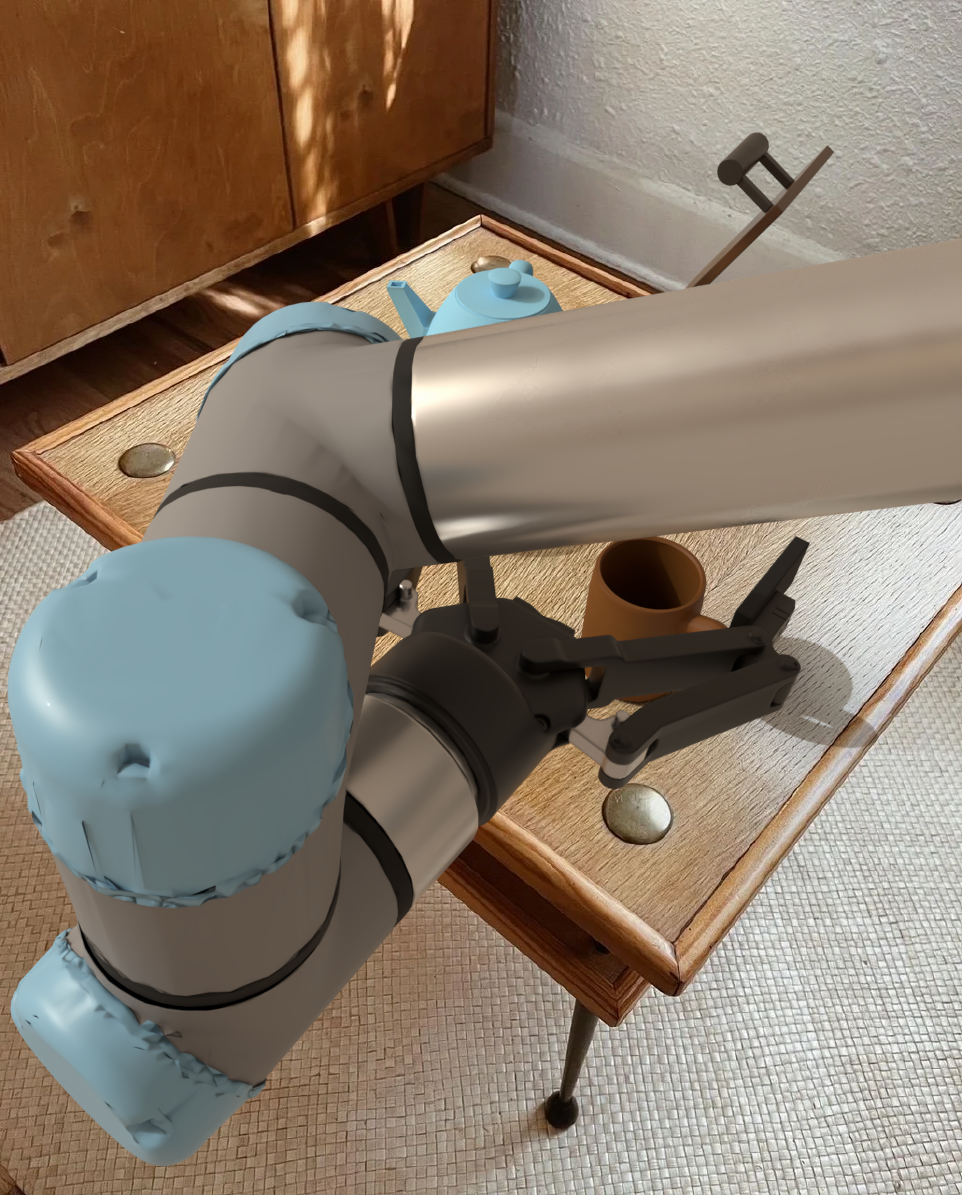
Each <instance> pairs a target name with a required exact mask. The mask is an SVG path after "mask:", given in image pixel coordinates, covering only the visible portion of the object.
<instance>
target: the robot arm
mask: <svg viewBox="0 0 962 1195" xmlns="http://www.w3.org/2000/svg"><path fill="white" fill-rule="evenodd" d="M685 288H686V287H685ZM685 288H680V289H676V290H670V291H665V292H660V293H659V292H658V293H654V294H648V295H642V296H637V297H632V298H626V299H621V300H616V301H609V302H604V303H599V304H594V305H588V306H583V307H577V308H572V309H567V310H563V311H560V312H555V313H549V314H544V315H538V316H533V317H527V318H522V319H516V320H511V321H505V322H500V323H494V324H489V325H484V326H478V327H473V328H467V329H462V330H456V331H451V332H445V333H440V334H434V335H429V336H422V337H416V338H410V337H409V338H404V339H403V337H401V336H400V335H399V333H398V332H397V331H395V330H394V329H393V328H392V327H391V326H389V325H388V324H387V323H385V321H382V320H381V319H379V318H378V317H376V316H374V315H372V314H370V313H368V312H365V311H362V310H357V311H356V310H353V309H350V308H347V307H344V306H339V305H334V304H332V303H330V302H328V301H307V302H306V301H305V302H299V303H294V304H290V305H287V306H284V307H281V308H278V309H275V310H273V311H272V312H271V313H269V314H267V315H265V316H263V317H262V318H260V319H259V320H258V321H256V322H255V323H254V324H253V325H252V326H251V327H249V329H248V330H247V331H246V332H245V334H244V335H243V336H242V337H241V338H240V340H239V341H238V343H237V345H236V346H235V348H234V350H233V352H232V353H231V355H230V356H229V358H228V360H227V362H225V363H224V364H223V365H222V367H220V368H219V369H218V371H217V373H216V374H215V375H214V377H213V378H212V380H211V382H210V383H209V385H208V388H207V389H206V391H205V393H204V395H203V399H202V401H201V404H200V407H199V409H198V412H197V414H196V418H195V419H196V420H195V423H194V424H195V425H194V426H193V429H192V431H191V434H190V436H189V438H188V440H187V443H186V445H185V447H184V449H183V452H182V454H181V455H180V459H179V460H178V463H177V465H176V466H175V470H174V472H173V474H172V476H171V479H170V481H169V483H168V486H167V488H166V490H165V492H164V495H163V497H162V499H161V502H160V504H159V506H158V508H157V510H156V511H155V514H154V515H153V518H152V520H151V522H149V524H148V526H147V528H146V530H145V532H144V534H143V536H142V538H141V540H140V541H139V542H137V543H133V544H129V545H125V546H121V547H120V548H116V549H115V550H112V551H110V552H107V553H105V554H103V555H100V556H98V557H97V558H95V559H94V560H93V561H92V562H91V563H90V565H89V567H88V568H87V569H86V570H85V571H84V573H83V574H81V575H80V576H78V577H77V578H75V579H74V580H72V581H71V582H69V583H68V584H66V585H65V586H64V587H58V588H53V589H51V591H49V593H48V594H47V595H46V596H45V597H43V599H42V600H41V601H40V602H39V603H38V604H37V605H36V607H35V608H34V609H33V611H32V612H31V614H30V615H29V617H28V618H27V620H26V622H25V623H24V625H23V627H22V629H21V631H20V633H19V635H18V638H17V640H16V643H15V645H14V648H13V651H12V655H11V658H10V661H9V662H10V663H9V667H8V673H7V707H8V713H9V716H10V721H11V725H12V728H13V734H14V737H15V741H16V749H17V752H18V754H19V757H20V762H21V770H20V772H19V775H18V777H19V780H20V782H21V785H22V788H23V789H24V792H25V794H26V795H27V796H26V797H27V811H28V812H29V813H30V814H31V818H32V823H33V824H34V826H35V827H36V828H37V830H38V833H39V835H40V837H41V838H42V840H43V842H44V843H45V844H46V845H47V846H48V849H49V851H50V853H51V856H52V858H53V861H54V863H55V866H56V868H57V870H58V873H59V876H60V878H61V881H62V883H63V885H64V888H65V890H66V893H67V896H68V897H69V900H70V902H71V905H72V908H73V910H74V913H75V917H76V918H75V919H76V925H75V926H73V927H68V929H64V930H62V932H61V933H59V934H58V935H57V936H56V937H55V938H54V942H53V943H52V946H51V947H50V948H49V949H48V950H47V951H46V953H45V954H44V955H43V956H41V958H40V959H39V960H38V961H37V962H36V963H35V964H34V966H33V967H31V969H30V970H29V971H28V972H27V973H26V974H25V975H24V977H23V978H22V979H20V981H19V982H18V985H17V987H16V990H15V991H14V992H13V995H12V998H11V1001H10V1014H11V1019H12V1021H13V1023H14V1025H15V1026H16V1029H17V1031H18V1033H19V1034H20V1036H21V1038H22V1039H23V1041H24V1043H26V1045H27V1046H28V1048H29V1049H30V1050H31V1051H32V1052H33V1054H34V1055H35V1057H36V1058H37V1059H38V1061H40V1063H41V1064H42V1065H43V1066H44V1068H46V1070H47V1071H48V1073H49V1074H50V1075H51V1076H52V1077H53V1078H54V1079H55V1080H56V1082H57V1083H58V1084H59V1085H60V1086H61V1087H62V1088H63V1089H64V1091H66V1093H67V1094H68V1095H69V1096H70V1097H71V1098H72V1099H73V1101H75V1102H76V1103H77V1104H78V1105H79V1106H80V1107H81V1109H82V1110H83V1111H84V1112H85V1113H86V1114H87V1115H88V1116H89V1117H90V1118H91V1119H92V1120H93V1121H94V1122H95V1123H96V1124H97V1125H98V1126H100V1128H102V1129H103V1130H104V1131H105V1132H106V1133H107V1134H108V1135H109V1136H110V1137H111V1138H112V1139H114V1140H115V1141H116V1142H117V1143H118V1144H119V1145H120V1146H121V1147H122V1148H124V1149H125V1150H127V1151H128V1152H129V1153H130V1154H132V1155H133V1156H134V1157H135V1158H137V1159H139V1160H141V1161H143V1162H144V1163H146V1164H149V1165H153V1166H158V1167H169V1166H173V1165H178V1164H179V1163H181V1162H184V1161H186V1160H188V1159H190V1157H192V1156H193V1155H194V1154H195V1153H196V1152H198V1151H199V1149H201V1147H202V1146H203V1145H204V1144H205V1143H206V1142H207V1141H208V1140H210V1138H211V1137H212V1136H213V1135H214V1134H215V1133H216V1132H217V1131H218V1130H219V1129H220V1128H221V1127H222V1126H223V1125H224V1124H225V1123H226V1122H227V1121H228V1120H229V1119H230V1118H231V1117H232V1116H233V1115H234V1114H235V1113H236V1111H238V1110H239V1109H240V1108H241V1107H242V1106H243V1105H244V1104H245V1103H246V1102H247V1101H248V1100H249V1099H254V1098H256V1097H257V1096H258V1095H260V1093H261V1092H262V1091H263V1090H264V1088H265V1087H266V1086H267V1084H266V1083H267V1079H268V1078H267V1077H269V1075H270V1074H271V1072H272V1071H273V1070H274V1069H275V1068H276V1067H277V1065H278V1064H280V1062H281V1061H282V1060H283V1059H284V1057H286V1055H287V1054H288V1053H289V1052H290V1050H291V1049H293V1047H294V1046H295V1044H297V1042H298V1041H299V1040H300V1039H301V1038H302V1037H303V1035H304V1034H305V1033H306V1032H307V1031H308V1030H309V1029H310V1027H311V1026H312V1025H313V1024H314V1022H315V1021H316V1020H317V1019H318V1018H319V1017H320V1015H321V1014H323V1012H324V1011H325V1010H326V1009H327V1007H329V1005H330V1004H331V1003H332V1002H333V1001H334V999H335V998H336V997H337V996H338V995H339V993H341V991H342V990H343V989H344V988H345V986H347V984H348V983H349V982H350V981H351V979H353V977H354V976H355V975H356V974H357V972H359V970H360V969H361V968H362V967H363V965H364V964H365V963H366V962H368V960H369V958H370V957H371V956H372V955H373V954H374V953H375V952H376V951H377V949H379V947H380V946H381V945H382V944H383V942H384V941H385V940H386V939H387V937H389V935H390V934H391V933H392V932H393V931H394V929H395V928H396V927H397V925H398V924H399V923H400V922H401V921H402V920H403V919H404V918H405V917H406V915H407V914H408V913H409V911H411V910H412V908H414V906H415V905H416V904H417V903H418V901H419V900H420V899H422V897H423V896H424V895H425V894H426V893H427V892H428V890H430V888H431V887H432V886H433V885H434V884H435V883H436V881H437V880H438V879H439V878H440V877H441V875H443V874H444V872H445V871H447V869H448V868H449V867H450V865H451V864H453V862H454V861H455V860H456V859H457V858H458V857H459V856H460V854H461V853H462V852H463V851H464V850H465V849H466V848H467V846H468V845H469V844H470V843H471V842H472V841H473V840H474V839H475V837H476V834H477V831H478V828H479V827H481V826H484V825H486V824H487V823H489V822H490V820H492V819H493V817H494V816H495V815H496V814H497V813H498V812H499V810H500V809H502V807H503V806H504V805H505V804H506V803H507V801H508V800H510V798H511V797H512V795H514V793H515V792H516V791H517V790H518V789H519V788H520V786H521V785H523V783H524V782H525V781H526V780H527V778H528V777H529V776H530V775H531V774H532V773H533V771H535V769H536V768H537V767H538V766H539V765H540V764H541V762H542V761H543V760H544V758H545V757H547V755H548V754H549V753H551V752H552V751H554V750H556V749H558V748H561V747H564V746H567V745H570V744H572V746H574V747H575V748H577V749H578V750H579V751H580V752H582V753H583V754H584V755H585V756H587V757H588V758H590V759H591V760H592V761H593V762H595V763H596V764H597V765H599V769H598V772H597V778H598V780H599V783H600V784H601V785H602V786H604V787H605V788H607V789H610V790H613V791H615V790H621V789H622V788H624V787H625V786H626V785H627V784H628V783H629V782H631V780H632V779H633V778H634V777H635V776H636V775H638V773H639V772H641V771H642V769H644V768H645V767H646V766H647V765H648V764H649V763H650V762H653V761H655V760H659V759H661V758H662V757H663V758H664V757H665V756H668V755H671V754H673V753H675V752H679V751H680V750H684V749H686V748H689V747H690V746H693V745H696V744H698V743H700V742H703V741H705V740H707V739H710V738H713V737H715V736H716V737H717V736H718V735H720V734H723V733H725V732H728V731H730V730H733V729H735V728H738V727H741V726H742V725H746V724H748V723H751V722H753V721H755V720H758V719H760V718H763V717H765V716H769V715H770V714H772V713H775V712H778V711H780V710H781V709H782V708H783V707H784V705H785V703H786V700H787V699H788V697H789V695H790V692H791V691H792V689H793V686H794V685H795V682H796V681H797V678H798V676H799V674H800V672H801V670H802V667H801V664H800V662H799V660H798V659H797V658H795V657H794V656H792V655H790V654H785V653H781V654H779V653H778V651H777V650H776V649H775V648H774V646H775V644H776V643H777V642H778V640H779V639H780V638H781V636H782V635H783V634H784V632H785V631H786V629H787V628H788V625H789V622H790V621H791V619H792V616H793V614H794V612H795V609H796V599H795V598H792V597H790V596H788V595H786V592H787V591H788V590H789V588H790V587H791V586H792V584H793V583H794V580H795V578H796V576H797V573H798V572H799V569H800V566H801V565H802V563H803V560H804V558H805V556H806V554H807V551H808V549H809V546H810V543H811V542H810V541H807V540H805V539H803V538H802V537H799V536H797V535H794V537H793V539H792V540H790V542H789V544H788V545H787V546H786V547H785V548H784V550H783V551H782V552H781V553H780V554H779V556H778V557H777V558H776V559H775V561H773V563H772V564H771V566H770V567H769V568H768V569H767V571H766V572H765V573H764V575H763V576H762V577H761V578H760V579H759V581H758V582H757V583H756V584H755V586H754V587H753V588H752V589H751V590H750V592H749V593H748V594H747V596H746V597H745V598H744V599H743V600H742V601H741V603H740V604H739V606H738V607H737V608H736V609H735V611H734V614H733V616H732V618H731V622H730V624H729V626H728V628H724V629H715V630H707V631H699V632H690V633H682V634H674V635H665V636H657V637H649V638H640V639H632V640H624V641H618V640H616V639H615V638H614V636H612V635H601V636H593V637H584V638H581V637H576V635H575V634H576V629H574V628H572V627H571V626H569V625H567V624H566V623H564V622H562V621H560V620H557V619H554V618H551V617H548V616H545V615H543V613H541V612H540V611H539V610H538V609H537V608H536V607H534V605H532V604H531V603H530V602H528V601H526V600H524V599H522V598H521V597H519V596H517V595H516V596H515V597H514V598H513V599H511V598H507V597H497V591H496V583H495V575H494V573H495V572H494V566H492V565H491V557H496V556H506V555H514V554H521V553H530V552H537V551H539V552H540V551H545V550H553V549H563V548H571V547H579V546H586V545H595V544H604V543H612V542H614V541H621V540H630V539H638V538H646V537H654V536H657V537H661V536H671V535H679V534H687V533H697V532H703V531H712V530H720V529H729V528H737V527H744V526H751V525H761V524H762V525H763V524H770V523H777V522H787V521H795V520H802V519H811V518H818V517H826V516H836V515H843V514H850V513H851V514H853V513H859V512H860V513H861V512H868V511H869V512H870V511H877V510H883V509H884V510H885V509H886V510H887V509H894V508H901V507H911V506H918V505H926V504H934V503H942V502H951V501H960V500H962V237H960V238H955V239H949V240H943V241H938V242H933V243H927V244H922V245H915V246H911V247H906V248H899V249H895V250H889V251H883V252H878V253H873V254H866V255H862V256H857V257H851V258H845V259H839V260H834V261H829V262H824V263H818V264H813V265H807V266H802V267H795V268H791V269H785V270H779V271H773V272H769V273H763V274H758V275H752V276H747V277H741V278H736V279H729V280H724V281H719V282H714V283H713V282H712V283H710V284H708V285H702V286H697V287H691V288H686V289H685ZM452 563H453V564H454V563H456V573H457V586H458V599H459V600H458V601H459V603H455V604H449V605H443V606H437V607H432V608H428V609H426V610H424V611H422V612H421V611H420V610H419V598H420V597H419V593H418V590H417V588H418V585H419V581H420V578H421V575H422V572H423V568H424V567H430V566H438V565H439V566H440V565H446V564H452ZM389 632H390V633H391V634H394V635H396V636H398V637H399V638H402V639H400V640H399V641H398V642H397V643H396V644H395V645H393V646H392V647H391V648H390V649H389V650H388V651H386V653H384V654H383V655H382V656H381V657H379V659H378V660H376V661H375V662H374V663H373V664H372V661H373V658H374V652H375V648H376V642H377V638H381V637H384V636H385V635H387V634H388V633H389ZM588 667H592V668H591V672H590V676H589V677H588V678H587V677H586V675H585V668H588ZM663 692H668V693H670V692H675V693H672V694H669V695H666V696H664V697H661V698H657V699H655V700H653V701H651V702H649V703H647V704H644V705H643V706H642V707H640V708H638V709H637V710H635V711H634V712H632V713H631V714H630V713H629V712H628V711H627V710H624V709H621V710H617V711H616V712H615V714H612V715H611V716H609V717H606V718H601V719H599V718H595V717H592V716H590V715H589V714H588V713H589V712H588V711H589V710H594V709H595V710H596V709H601V708H605V707H607V706H609V705H611V704H612V703H613V702H614V701H615V700H620V699H619V698H626V697H633V696H641V695H648V694H656V693H663Z"/></svg>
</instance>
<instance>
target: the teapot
mask: <svg viewBox="0 0 962 1195" xmlns="http://www.w3.org/2000/svg"><path fill="white" fill-rule="evenodd" d="M386 292H387V294H388V295H389V297H390V299H391V301H392V304H393V306H394V308H395V310H396V312H397V314H398V317H399V318H400V320H401V323H402V324H403V327H404V329H405V331H406V333H407V334H408V337H409V339H410V338H416V337H422V336H429V335H434V334H440V333H445V332H451V331H456V330H462V329H467V328H473V327H478V326H484V325H489V324H494V323H500V322H505V321H511V320H516V319H522V318H527V317H533V316H538V315H544V314H549V313H555V312H560V311H564V309H563V307H561V305H560V303H559V301H558V299H557V298H556V296H555V295H554V294H553V292H552V291H551V289H550V288H549V286H548V285H546V283H544V282H543V281H542V280H540V279H539V278H537V277H536V276H534V266H533V265H532V263H530V262H529V261H527V260H525V259H515V260H513V261H512V262H511V263H510V264H509V266H508V267H497V268H494V269H487V270H483V271H477V272H475V273H473V274H470V275H468V276H466V277H464V278H463V279H462V280H461V281H459V282H458V284H456V286H455V287H453V289H452V290H451V291H450V292H449V294H448V295H447V297H446V298H445V299H444V300H443V302H442V303H441V304H440V306H439V308H438V309H437V310H436V311H434V310H431V308H429V307H428V305H427V304H426V303H425V302H424V301H423V299H421V297H420V296H419V295H418V293H416V292H415V291H414V290H413V288H412V287H411V286H410V285H409V283H408V280H395V279H394V280H393V279H392V280H391V279H390V280H389V281H388V283H387V285H386Z"/></svg>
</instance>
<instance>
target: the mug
mask: <svg viewBox="0 0 962 1195" xmlns="http://www.w3.org/2000/svg"><path fill="white" fill-rule="evenodd" d="M706 589H707V574H706V572H705V569H704V566H703V564H702V563H701V561H700V560H699V559H698V557H697V556H696V555H695V554H694V553H693V552H692V551H691V550H689V549H688V548H687V547H685V546H684V545H682V544H680V543H678V542H676V541H674V540H671V539H668V538H665V537H661V536H654V537H646V538H638V539H630V540H621V541H613V542H609V544H608V545H606V546H605V547H604V548H603V549H602V550H601V551H600V552H599V554H598V556H597V558H596V560H595V563H594V567H593V570H592V574H591V577H590V580H589V586H588V591H587V596H586V597H587V598H586V602H585V607H584V608H585V609H584V614H583V622H582V628H581V634H580V638H584V637H593V636H601V635H612V636H614V638H615V639H616V640H618V641H624V640H632V639H640V638H649V637H657V636H665V635H674V634H682V633H690V632H699V631H707V630H715V629H724V628H729V626H727V625H726V624H725V623H723V622H722V621H720V620H718V619H715V618H713V617H709V616H708V615H707V616H706V615H704V614H702V611H703V608H704V607H703V606H704V600H705V595H706V594H705V593H706ZM591 668H592V667H588V668H585V676H586V679H587V678H588V677H589V676H590V672H591ZM668 693H669V692H663V693H656V694H648V695H641V696H633V697H626V698H619V699H618V700H621V701H626V702H638V703H639V702H647V701H652V700H656V699H659V698H660V697H662V696H664V695H666V694H668Z"/></svg>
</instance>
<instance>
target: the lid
mask: <svg viewBox="0 0 962 1195" xmlns="http://www.w3.org/2000/svg"><path fill="white" fill-rule="evenodd" d="M769 148H770V142H769V140H768V138H767V136H766V135H765V134H763V133H762V132H757V131H755V132H752V133H750V134H748V135H747V136H746V137H745V138H743V140H742V141H741V142H740V143H739V144H738V145H737V146H736V147H735V148H734V149H733V150H732V151H731V152H730V153H729V154H728V155H726V157H725V158H724V159H722V160H721V161H720V163H719V164H718V166H717V170H716V175H717V178H718V180H719V181H720V183H721V184H723V185H725V186H729V187H732V186H733V187H734V186H736V185H737V186H738V188H740V189H741V191H742V192H743V193H744V194H745V195H746V196H747V197H748V198H749V199H750V200H751V201H752V202H753V203H754V204H755V206H756V207H758V208H759V209H760V212H759V213H758V214H756V216H755V217H753V218H752V220H750V221H749V223H748V224H747V225H746V226H744V227H743V229H742V230H741V231H739V233H737V235H736V236H735V237H734V238H733V239H732V240H731V241H730V242H728V243H727V244H726V246H724V247H723V249H721V251H719V253H718V254H717V255H715V257H714V258H712V259H711V261H710V262H708V264H706V266H704V268H703V269H702V270H700V271H699V273H697V275H695V277H694V278H693V279H692V280H691V281H690V282H689V283H688V284H687V285H686V287H685V288H684V289H686V288H691V287H697V286H702V285H708V284H712V283H713V282H714V281H715V280H716V279H717V278H718V277H719V276H720V275H721V274H722V273H723V272H724V271H725V270H726V269H727V268H728V267H729V266H730V265H731V264H732V263H733V262H734V261H735V260H737V258H738V257H739V256H741V255H742V254H743V252H745V250H747V249H748V248H749V247H750V246H751V245H752V244H753V243H754V242H755V241H756V240H757V239H758V238H759V237H760V236H761V235H762V234H763V233H764V232H765V231H766V230H767V229H768V228H769V227H770V226H771V225H772V224H773V223H774V222H776V220H777V219H779V218H780V217H781V216H782V215H783V213H785V212H786V210H787V209H788V208H789V207H790V206H791V204H792V203H793V202H794V201H795V200H796V198H797V197H798V196H799V195H800V194H801V193H802V191H803V190H804V189H805V188H806V187H807V185H808V184H809V183H810V182H811V181H812V180H813V178H814V177H815V176H816V175H817V173H818V172H819V171H820V170H821V169H822V168H823V167H824V165H825V164H826V163H827V162H828V161H829V160H830V158H831V157H832V156H833V155H834V154H835V151H834V150H833V149H832V147H830V145H826V146H825V147H824V148H823V149H821V150H820V152H819V153H818V154H817V155H815V157H814V158H812V160H810V162H809V163H808V164H807V165H806V166H804V168H803V169H801V170H800V172H799V173H798V174H797V175H795V176H794V178H793V177H792V175H791V174H789V173H788V171H786V170H785V169H784V167H782V166H781V164H780V163H778V161H777V160H776V159H775V158H774V157H773V156H772V155H771V154H770V152H769V150H770V149H769ZM758 163H760V165H762V166H763V167H764V169H766V170H767V171H768V173H769V174H770V175H772V177H774V179H775V180H776V181H777V182H778V183H779V184H780V186H782V187H783V189H782V190H781V191H780V192H778V193H777V195H776V196H775V197H773V199H772V200H770V199H769V197H767V196H766V194H764V192H762V190H761V189H760V188H759V187H758V186H757V185H756V184H755V183H754V182H753V181H752V180H751V179H750V178H749V177H748V176H747V174H749V173H750V172H751V171H752V169H753V168H755V167H756V165H757V164H758Z"/></svg>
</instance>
